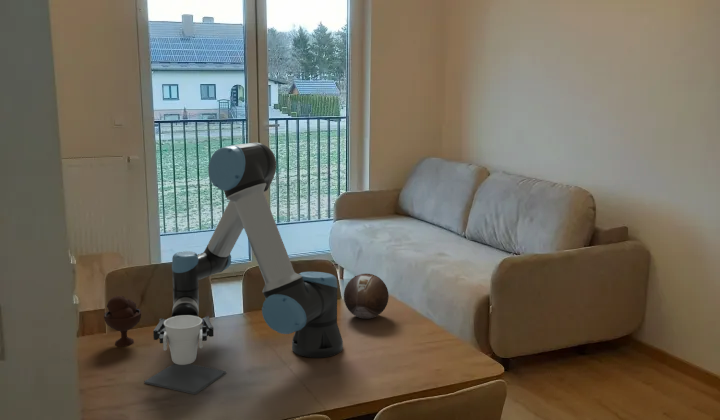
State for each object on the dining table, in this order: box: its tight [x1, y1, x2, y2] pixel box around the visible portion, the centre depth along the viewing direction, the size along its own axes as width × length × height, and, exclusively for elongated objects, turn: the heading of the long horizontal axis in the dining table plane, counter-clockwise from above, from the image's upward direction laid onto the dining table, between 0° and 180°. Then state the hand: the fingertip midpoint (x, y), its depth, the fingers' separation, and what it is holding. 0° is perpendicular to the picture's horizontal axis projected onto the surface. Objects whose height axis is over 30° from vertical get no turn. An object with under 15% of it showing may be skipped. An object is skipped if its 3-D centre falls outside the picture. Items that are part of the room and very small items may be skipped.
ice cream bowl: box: [103, 295, 142, 347], centre depth 208 cm, size 11×11×15 cm
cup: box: [164, 315, 203, 365], centre depth 184 cm, size 10×10×11 cm
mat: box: [144, 362, 227, 395], centre depth 186 cm, size 16×14×1 cm
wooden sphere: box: [343, 273, 390, 320], centre depth 233 cm, size 15×15×15 cm
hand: (182, 344), depth 179 cm, fingers closed on cup, 8 cm apart
